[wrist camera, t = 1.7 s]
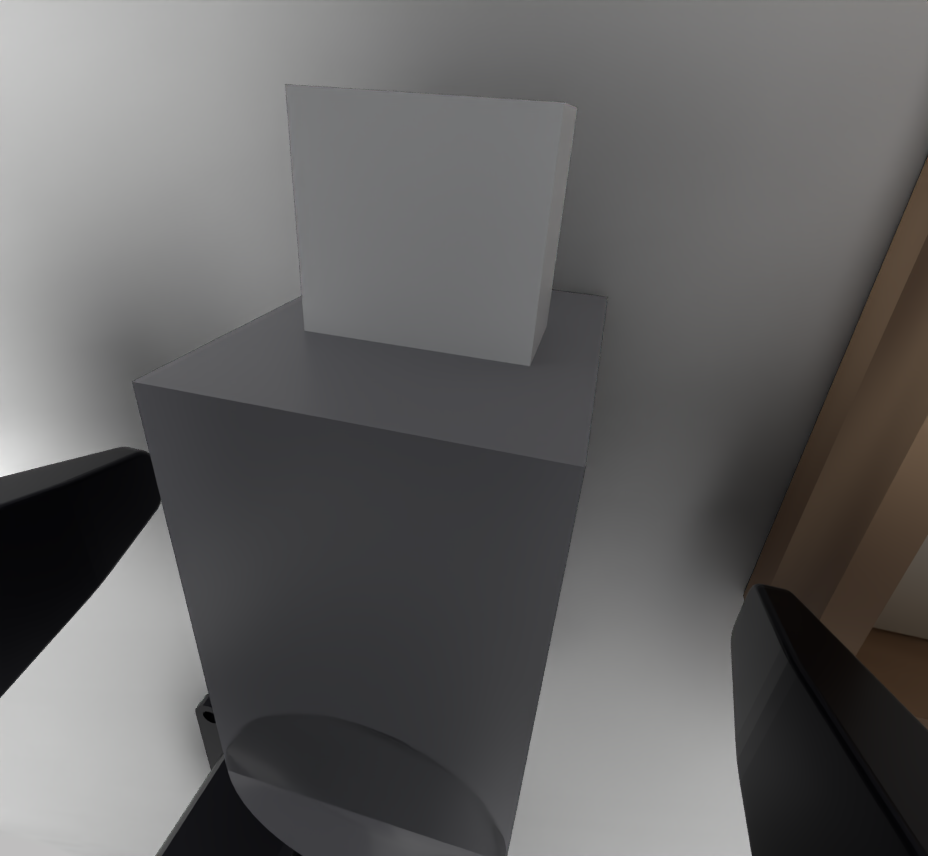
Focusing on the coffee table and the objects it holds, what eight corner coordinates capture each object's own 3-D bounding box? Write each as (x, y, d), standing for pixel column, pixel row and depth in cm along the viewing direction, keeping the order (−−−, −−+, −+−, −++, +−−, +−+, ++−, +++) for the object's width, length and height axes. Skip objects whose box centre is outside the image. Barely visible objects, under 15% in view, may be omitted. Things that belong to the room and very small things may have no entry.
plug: (539, 654, 12) (491, 931, 8) (370, 610, 13) (245, 843, 9) (642, 115, 7) (658, 96, 3) (358, 96, 8) (54, 59, 4)
